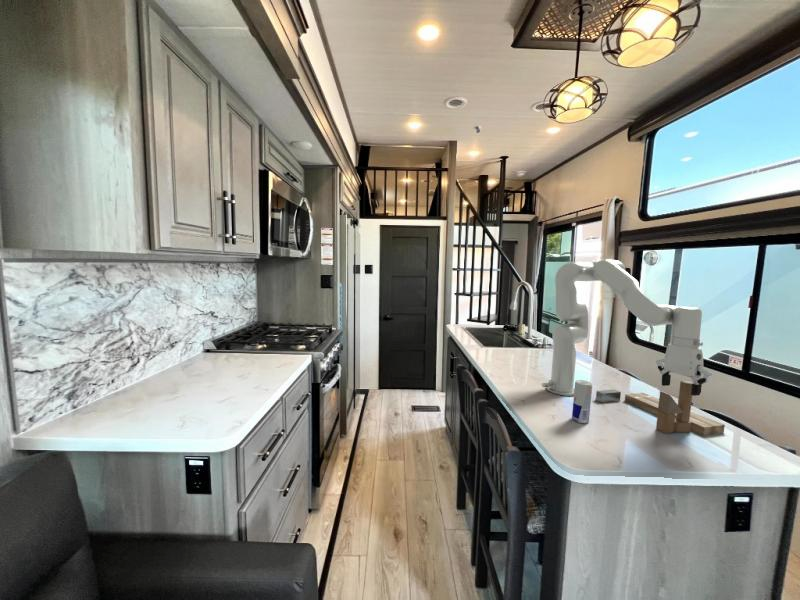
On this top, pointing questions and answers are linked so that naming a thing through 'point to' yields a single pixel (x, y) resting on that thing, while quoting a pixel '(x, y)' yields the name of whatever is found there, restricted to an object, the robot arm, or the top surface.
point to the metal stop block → (608, 395)
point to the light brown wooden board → (697, 421)
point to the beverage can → (582, 401)
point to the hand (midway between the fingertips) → (679, 390)
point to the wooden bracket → (675, 410)
